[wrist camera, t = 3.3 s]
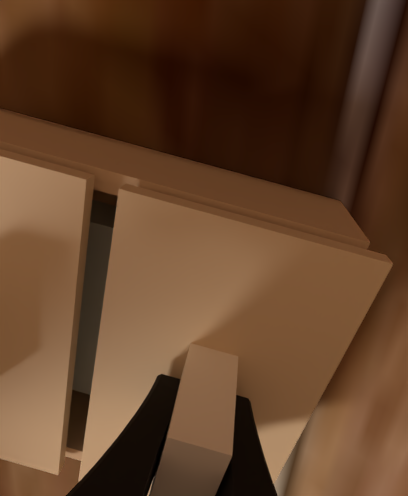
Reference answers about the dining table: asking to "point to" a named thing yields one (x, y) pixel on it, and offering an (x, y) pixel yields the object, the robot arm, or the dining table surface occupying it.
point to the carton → (163, 181)
